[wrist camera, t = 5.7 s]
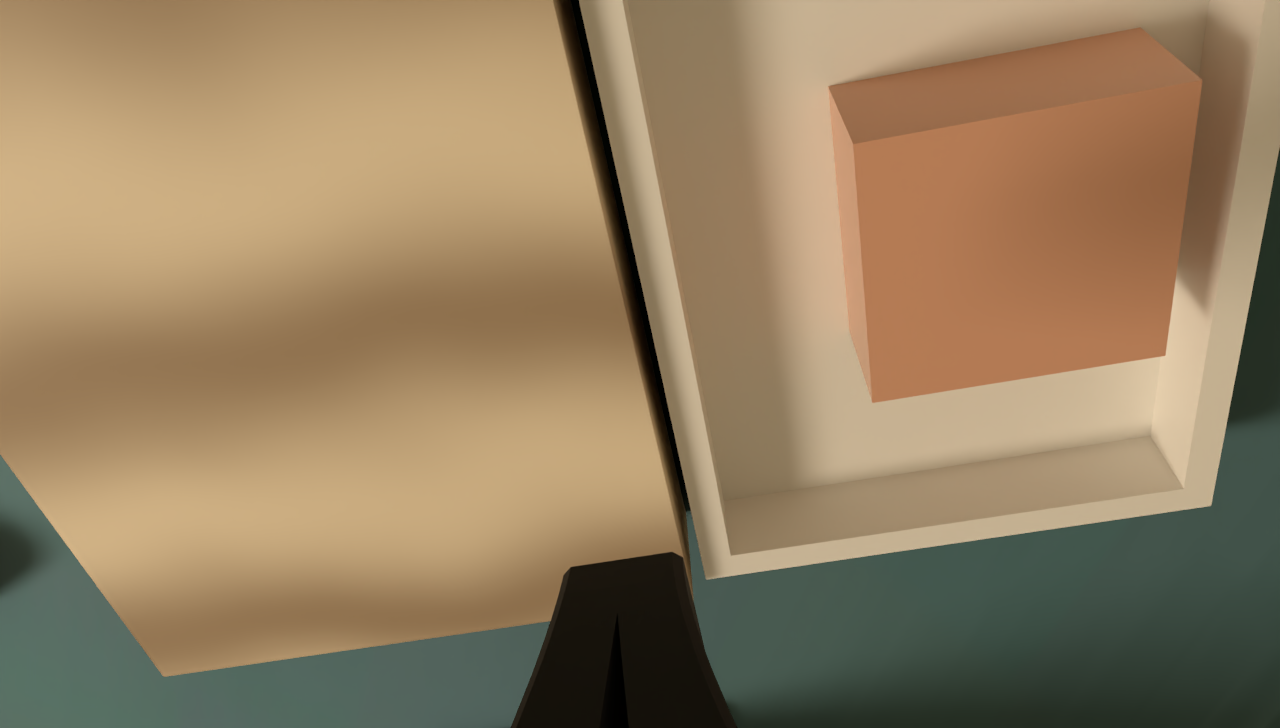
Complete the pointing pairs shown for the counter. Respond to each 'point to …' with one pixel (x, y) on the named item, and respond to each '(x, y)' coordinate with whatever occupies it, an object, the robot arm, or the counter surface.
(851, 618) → the counter surface
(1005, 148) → the tile
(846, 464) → the tray
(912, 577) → the counter surface
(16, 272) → the large beige panel
